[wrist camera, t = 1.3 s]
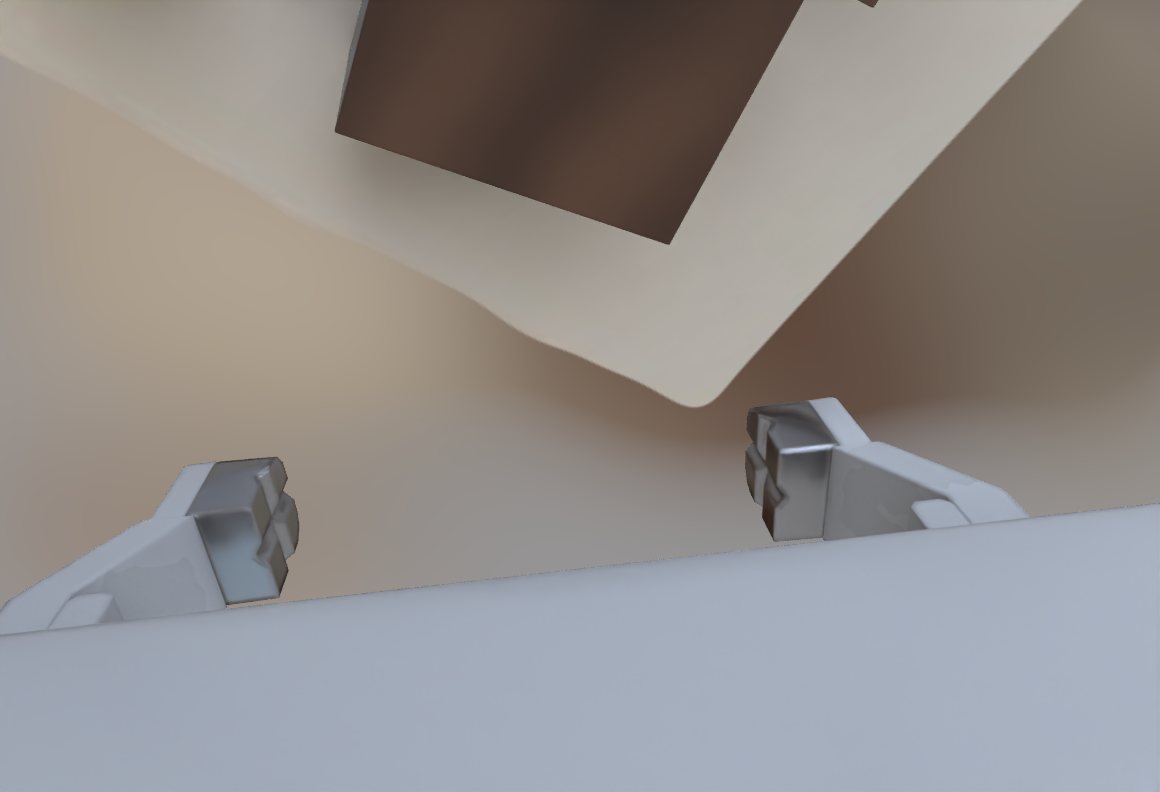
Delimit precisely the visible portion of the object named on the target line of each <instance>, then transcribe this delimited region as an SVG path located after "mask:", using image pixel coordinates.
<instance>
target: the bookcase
mask: <svg viewBox="0 0 1160 792" xmlns="http://www.w3.org/2000/svg"><path fill="white" fill-rule="evenodd" d="M803 1H804V0H362V4H361V8H360V11H359V15H358V19H357V23H356V27H355V31H354V35H353V39H352V43H351V47H350V51H349V57H348V62H347V67H346V73H345V78H344V83H343V89H342V94H341V99H340V105H339V110H338V115H337V121H336V126H335V132H336V133H339V134H341V135H344V136H347V137H350V138H353V139H356V140H359V141H362V142H365V143H368V144H371V145H374V146H377V147H380V148H383V149H386V150H389V151H392V152H395V153H398V154H401V155H404V156H407V157H410V158H413V159H416V160H418V161H421V162H424V163H427V164H430V165H433V166H436V167H439V168H442V169H445V170H448V171H451V172H454V173H457V174H460V175H463V176H466V177H469V178H472V179H475V180H478V181H481V182H484V183H487V184H490V185H493V186H496V187H498V188H501V189H504V190H507V191H510V192H513V193H516V194H519V195H522V196H525V197H528V198H531V199H534V200H537V201H540V202H543V203H546V204H549V205H552V206H555V207H558V208H561V209H564V210H567V211H570V212H573V213H575V214H578V215H581V216H584V217H587V218H590V219H593V220H596V221H599V222H602V223H605V224H608V225H611V226H614V227H617V228H620V229H623V230H626V231H629V232H632V233H635V234H638V235H641V236H644V237H647V238H650V239H653V240H655V241H658V242H661V243H664V244H667V245H669V244H670V242H671V241H672V239H673V237H674V235H675V233H676V232H677V230H678V228H679V226H680V224H681V222H682V221H683V219H684V217H685V215H686V213H687V212H688V210H689V208H690V206H691V204H692V202H693V201H694V199H695V197H696V195H697V193H698V192H699V190H700V188H701V186H702V184H703V182H704V181H705V179H706V177H707V175H708V173H709V172H710V170H711V168H712V166H713V164H714V162H715V161H716V159H717V157H718V155H719V153H720V152H721V150H722V148H723V146H724V144H725V142H726V141H727V139H728V137H729V135H730V133H731V132H732V130H733V128H734V126H735V124H736V122H737V121H738V119H739V117H740V115H741V113H742V112H743V110H744V108H745V106H746V104H747V102H748V101H749V99H750V97H751V95H752V93H753V92H754V90H755V88H756V86H757V84H758V82H759V81H760V79H761V77H762V75H763V73H764V72H765V70H766V68H767V66H768V64H769V62H770V61H771V59H772V57H773V55H774V53H775V52H776V50H777V48H778V46H779V44H780V42H781V41H782V39H783V37H784V35H785V33H786V32H787V30H788V28H789V26H790V24H791V22H792V21H793V19H794V17H795V15H796V13H797V12H798V10H799V8H800V6H801V4H802V2H803ZM858 1H860V2H862V3H864V4H866V5H868V6H870V7H874V6H875V5H876V3H877V1H878V0H858Z"/></svg>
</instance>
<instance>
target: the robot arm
mask: <svg viewBox="0 0 1160 792" xmlns="http://www.w3.org/2000/svg"><path fill="white" fill-rule="evenodd" d="M747 431H748V433H749V435H750V437H751V439H752V441H753V442H752V444H751V445H750V446H749V448H748V449H747V450H746V460H745V461H746V462H745V469H746V477H747V483H748V486H749V490H750V493H751V496H752V498H753V500H754V502H756V503H757V504H759V505H761V506H763V510H762V518H763V520H764V522H765V524H766V526H767V528H768V530H769V532H770V534H771V536H772V538H773V540H774V541H775V542H777V541H788V540H800V539H811V538H823V540H824V541H819V542H810V543H802V544H793V545H784V546H776V547H766V548H758V549H749V550H740V551H731V552H724V553H714V554H705V555H696V556H688V557H679V558H670V559H662V560H653V561H644V562H635V563H626V564H618V565H609V566H600V567H591V568H583V569H574V570H565V571H556V572H547V573H539V574H530V575H522V576H513V577H504V578H494V579H486V580H477V581H468V582H460V583H450V584H442V585H433V586H424V587H415V588H406V589H397V590H389V591H380V592H372V593H362V594H353V595H345V596H337V597H327V598H318V599H310V600H302V601H292V602H284V603H274V604H266V605H257V606H248V607H239V608H231V609H226V608H227V606H226V605H231V604H238V603H245V602H253V601H260V600H267V599H274V598H279V597H280V594H281V591H282V588H283V585H284V582H285V579H286V577H287V574H288V571H289V570H288V567H287V564H286V559H288V558H289V557H290V556H291V555H293V554H294V553H295V550H296V547H297V544H298V536H299V521H298V513H297V508H296V505H295V501H294V499H293V498H291V497H290V496H289V495H288V494H286V493H285V492H284V491H283V489H284V487H285V484H286V481H287V479H288V477H287V474H286V471H285V468H284V465H283V462H282V461H281V460H280V459H279V458H278V457H269V458H257V459H245V460H234V461H222V462H209V463H200V464H193V465H188V466H185V467H183V469H182V470H181V472H180V473H179V475H178V477H177V478H176V480H175V481H174V483H173V485H172V486H171V488H170V489H169V491H168V493H167V494H166V496H165V497H164V499H163V500H162V502H161V504H160V505H159V507H158V509H157V510H156V512H155V513H154V515H153V516H152V518H151V519H150V520H144V521H140V522H138V523H137V524H135V525H133V526H132V527H130V528H128V529H127V530H125V531H123V532H122V533H120V534H118V535H117V536H115V537H113V538H112V539H110V540H108V541H107V542H105V543H103V544H102V545H100V546H98V547H97V548H95V549H93V550H92V551H90V552H88V553H87V554H85V555H83V556H82V557H80V558H78V559H77V560H75V561H73V562H72V563H70V564H68V565H67V566H65V567H63V568H62V569H60V570H58V571H57V572H55V573H53V574H52V575H50V576H48V577H47V578H45V579H43V580H42V581H40V582H38V583H37V584H35V585H33V586H31V587H30V588H28V589H26V590H25V591H23V592H21V593H20V594H18V595H16V596H15V597H13V598H11V599H10V600H8V601H7V602H6V604H5V605H4V606H3V607H2V609H1V610H0V792H1160V503H1153V504H1145V505H1136V506H1127V507H1119V508H1109V509H1100V510H1092V511H1083V512H1074V513H1066V514H1057V515H1048V516H1039V517H1030V516H1029V515H1028V514H1027V513H1026V512H1025V511H1024V510H1023V509H1022V507H1021V506H1020V505H1018V503H1017V502H1016V501H1015V500H1014V499H1013V498H1012V497H1011V496H1010V495H1009V494H1008V493H1007V492H1006V491H1005V490H1003V489H1000V488H998V487H995V486H993V485H990V484H988V483H985V482H982V481H980V480H977V479H975V478H972V477H969V476H967V475H965V474H962V473H959V472H957V471H954V470H952V469H949V468H947V467H944V466H942V465H939V464H936V463H934V462H931V461H929V460H926V459H923V458H921V457H919V456H916V455H913V454H911V453H908V452H906V451H903V450H901V449H898V448H895V447H893V446H890V445H888V444H885V443H883V442H871V441H870V439H869V438H868V437H867V436H866V435H865V433H864V432H863V431H862V429H860V427H859V426H858V425H857V423H856V422H855V421H854V420H853V418H852V417H851V416H850V415H849V413H848V412H847V411H846V410H845V409H844V407H843V406H842V405H841V404H840V402H839V401H838V400H837V399H835V398H832V397H830V398H823V399H817V400H810V401H801V402H793V403H787V404H778V405H770V406H762V407H755V408H750V409H749V412H748V416H747Z"/></svg>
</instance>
